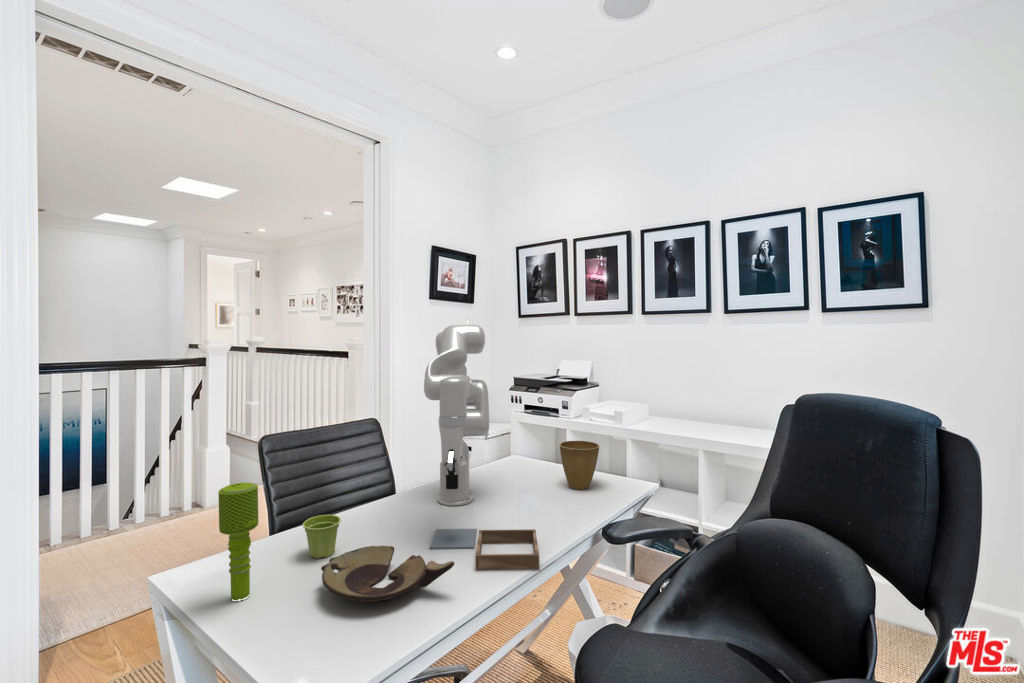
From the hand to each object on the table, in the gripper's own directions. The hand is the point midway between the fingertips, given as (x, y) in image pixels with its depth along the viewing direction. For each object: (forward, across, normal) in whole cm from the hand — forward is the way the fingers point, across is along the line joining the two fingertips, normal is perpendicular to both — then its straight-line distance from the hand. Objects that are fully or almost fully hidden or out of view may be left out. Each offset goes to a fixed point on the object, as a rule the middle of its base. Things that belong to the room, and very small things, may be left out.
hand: (453, 483), depth 137 cm
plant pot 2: (+16, -45, +42) cm, 64 cm away
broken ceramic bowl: (+16, +27, -13) cm, 34 cm away
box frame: (+16, +10, +15) cm, 24 cm away
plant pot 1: (+16, +8, -34) cm, 38 cm away
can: (+5, 0, 0) cm, 5 cm away
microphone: (+16, +29, -44) cm, 55 cm away
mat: (+16, 0, 0) cm, 16 cm away
